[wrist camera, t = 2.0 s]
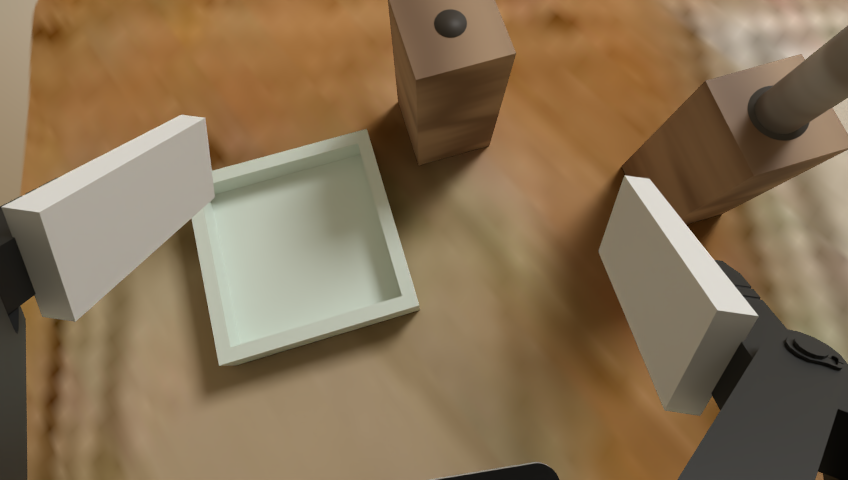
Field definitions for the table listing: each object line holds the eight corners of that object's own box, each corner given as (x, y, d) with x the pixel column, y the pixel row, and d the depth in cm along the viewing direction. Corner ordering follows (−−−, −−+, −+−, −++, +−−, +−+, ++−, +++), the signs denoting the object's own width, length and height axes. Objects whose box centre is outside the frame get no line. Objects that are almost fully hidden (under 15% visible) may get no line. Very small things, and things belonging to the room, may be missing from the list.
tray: (370, 145, 33) (366, 129, 30) (419, 310, 30) (419, 305, 28) (201, 192, 32) (184, 178, 30) (235, 365, 29) (218, 365, 27)
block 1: (466, 83, 34) (482, -30, 24) (489, 145, 33) (516, 52, 23) (398, 101, 34) (387, -6, 24) (418, 165, 32) (415, 79, 23)
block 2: (690, 146, 33) (991, -105, 15) (722, 213, 31) (1090, 25, 14) (621, 166, 32) (851, -68, 15) (651, 235, 31) (939, 68, 14)
